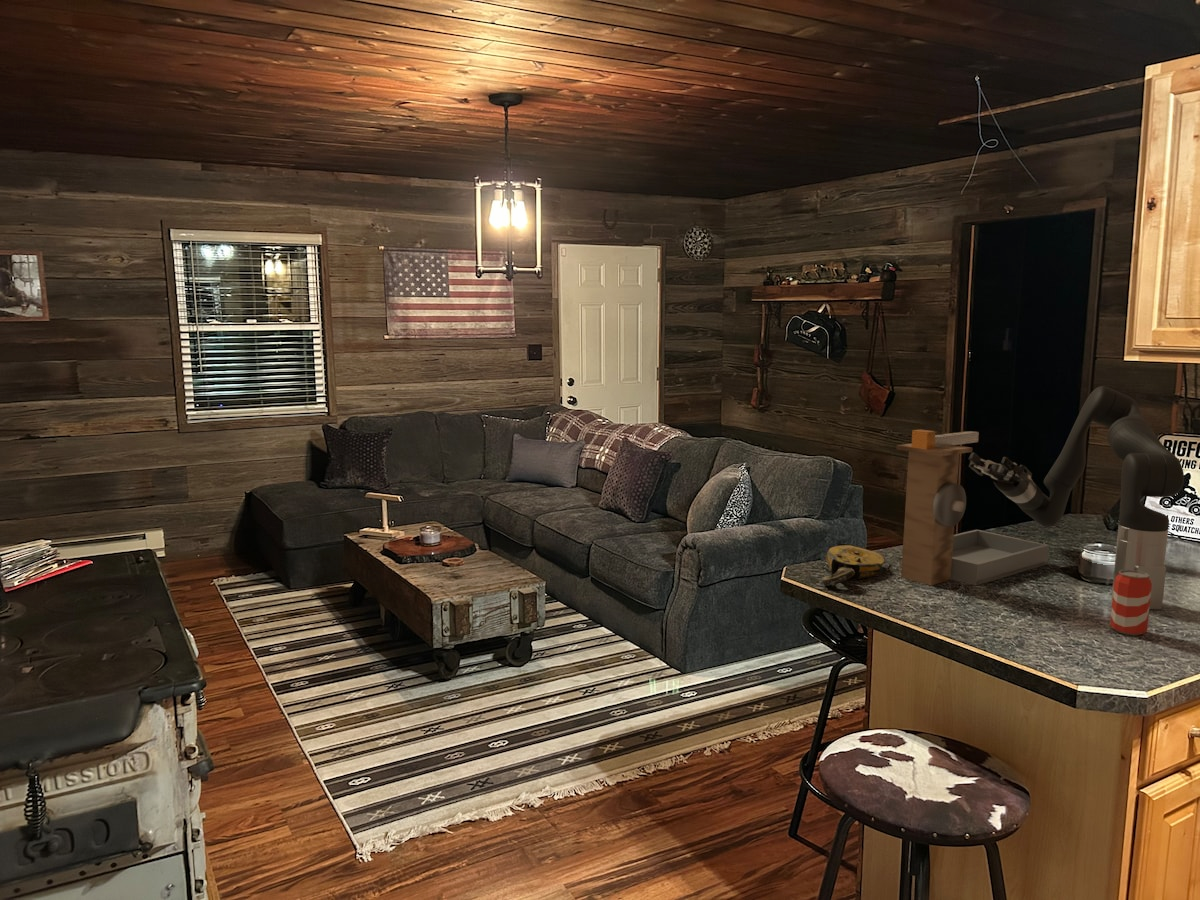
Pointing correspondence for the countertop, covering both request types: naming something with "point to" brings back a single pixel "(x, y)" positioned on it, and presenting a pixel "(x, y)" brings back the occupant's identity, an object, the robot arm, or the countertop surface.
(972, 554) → the tray
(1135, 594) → the beverage can
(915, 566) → the bracket
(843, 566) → the pulley block
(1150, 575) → the robot arm
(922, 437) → the pin
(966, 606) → the countertop surface
